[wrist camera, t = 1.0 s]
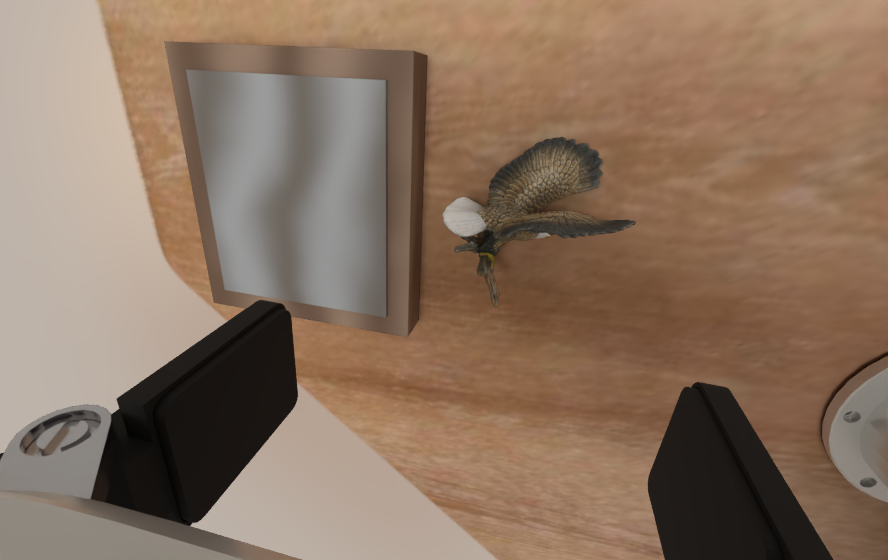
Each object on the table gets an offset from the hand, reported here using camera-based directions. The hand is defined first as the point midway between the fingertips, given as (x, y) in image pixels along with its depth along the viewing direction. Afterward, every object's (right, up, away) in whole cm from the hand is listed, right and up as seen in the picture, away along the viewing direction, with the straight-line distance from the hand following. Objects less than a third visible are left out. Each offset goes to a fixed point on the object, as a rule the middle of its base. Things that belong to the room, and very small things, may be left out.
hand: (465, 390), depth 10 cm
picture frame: (-10, +9, +20) cm, 24 cm away
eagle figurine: (+5, +7, +17) cm, 20 cm away
